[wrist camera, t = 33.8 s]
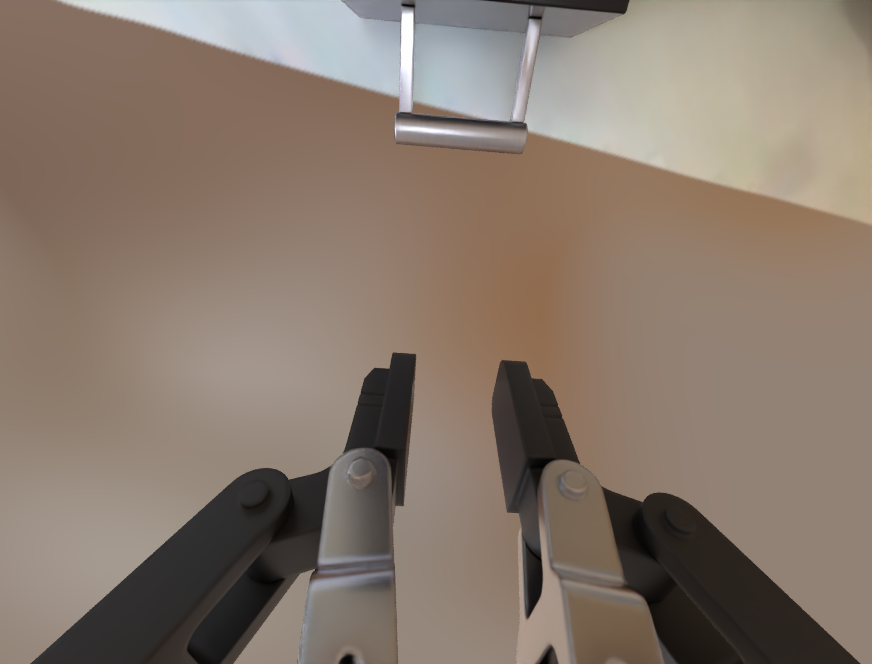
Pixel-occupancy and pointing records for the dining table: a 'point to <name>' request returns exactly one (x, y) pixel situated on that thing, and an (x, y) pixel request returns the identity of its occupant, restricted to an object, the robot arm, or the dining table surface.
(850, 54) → the dining table surface
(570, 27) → the drawer
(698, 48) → the dining table surface
